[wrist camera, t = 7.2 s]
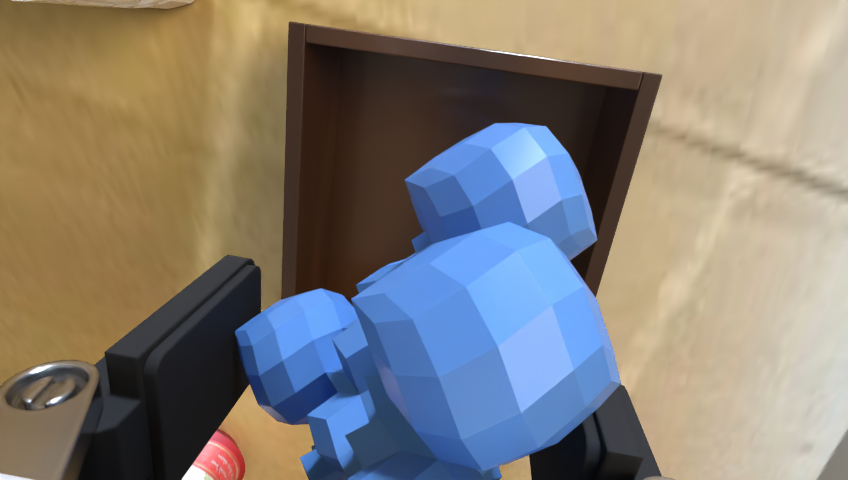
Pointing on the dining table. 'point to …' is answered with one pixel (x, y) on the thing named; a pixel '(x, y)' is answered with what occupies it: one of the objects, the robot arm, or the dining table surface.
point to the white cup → (119, 3)
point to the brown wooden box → (431, 141)
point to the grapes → (449, 327)
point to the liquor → (218, 460)
